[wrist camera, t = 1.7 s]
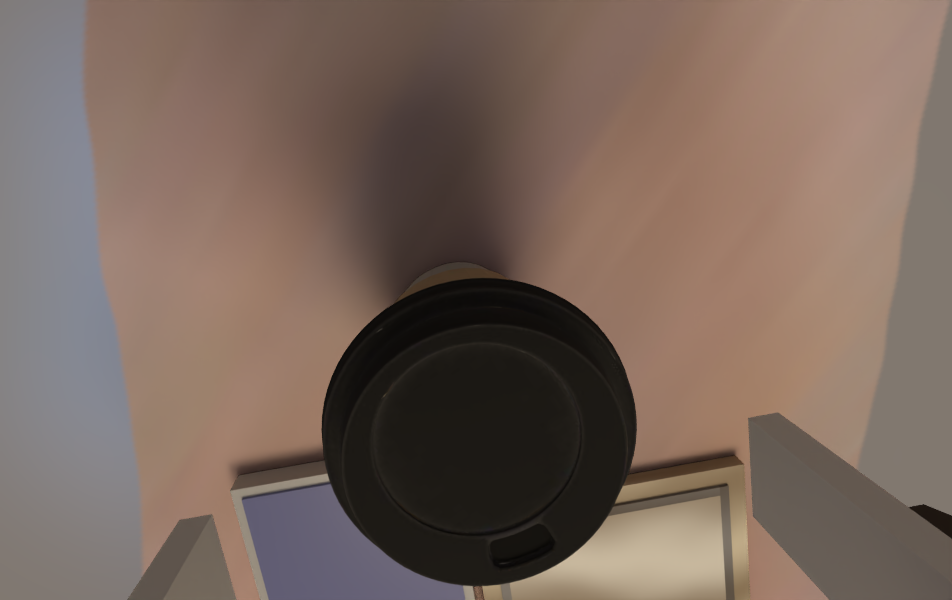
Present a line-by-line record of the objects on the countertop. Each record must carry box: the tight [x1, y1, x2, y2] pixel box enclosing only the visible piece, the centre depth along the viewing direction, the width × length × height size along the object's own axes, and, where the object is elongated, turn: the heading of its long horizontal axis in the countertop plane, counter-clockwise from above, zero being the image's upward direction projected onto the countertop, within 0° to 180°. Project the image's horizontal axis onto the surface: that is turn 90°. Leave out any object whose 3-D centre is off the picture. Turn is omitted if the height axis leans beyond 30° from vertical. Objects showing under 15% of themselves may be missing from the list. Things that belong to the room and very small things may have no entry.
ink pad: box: [230, 460, 476, 600], centre depth 33 cm, size 11×11×2 cm
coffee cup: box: [322, 262, 637, 586], centre depth 24 cm, size 9×9×15 cm
